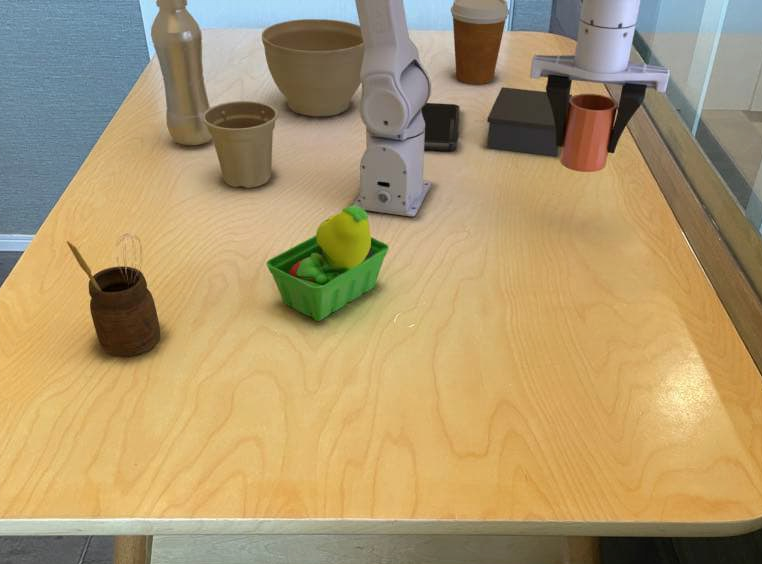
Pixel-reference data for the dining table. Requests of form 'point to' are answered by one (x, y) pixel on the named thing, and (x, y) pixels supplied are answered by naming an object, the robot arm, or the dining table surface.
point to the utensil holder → (121, 308)
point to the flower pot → (243, 140)
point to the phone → (441, 126)
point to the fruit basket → (330, 265)
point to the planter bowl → (315, 63)
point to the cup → (588, 132)
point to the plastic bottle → (181, 71)
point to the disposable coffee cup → (477, 38)
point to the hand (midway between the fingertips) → (585, 146)
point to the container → (522, 122)
